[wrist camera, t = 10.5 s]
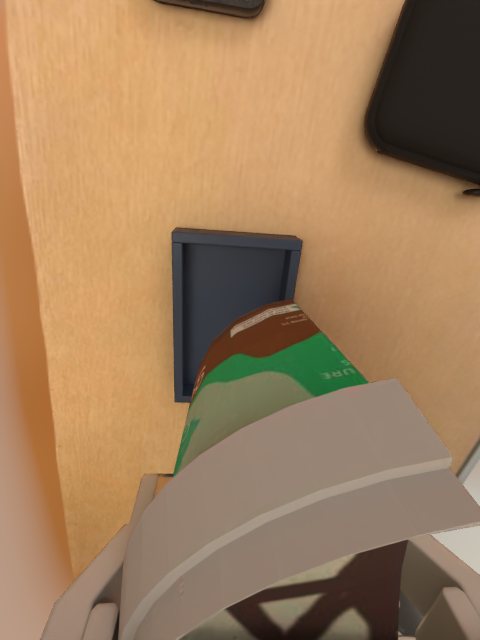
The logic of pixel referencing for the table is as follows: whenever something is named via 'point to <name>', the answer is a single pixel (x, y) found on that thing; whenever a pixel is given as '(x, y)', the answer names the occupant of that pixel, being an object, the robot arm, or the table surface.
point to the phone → (222, 6)
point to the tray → (223, 288)
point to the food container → (288, 496)
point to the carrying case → (431, 90)
